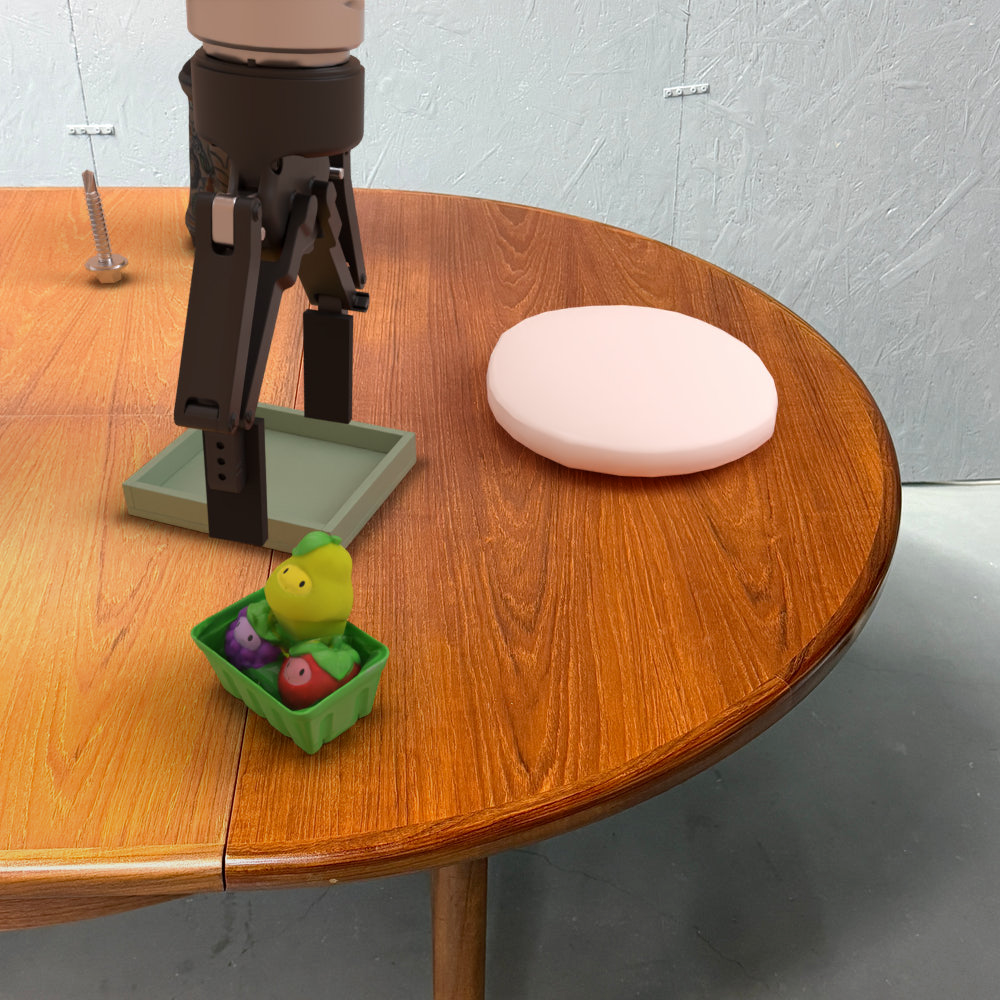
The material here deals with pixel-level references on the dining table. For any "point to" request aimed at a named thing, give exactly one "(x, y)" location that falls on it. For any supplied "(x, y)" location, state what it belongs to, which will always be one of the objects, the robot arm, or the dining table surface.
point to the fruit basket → (298, 646)
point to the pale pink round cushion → (630, 391)
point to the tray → (285, 477)
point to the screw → (101, 236)
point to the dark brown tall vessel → (202, 158)
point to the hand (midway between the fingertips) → (288, 472)
